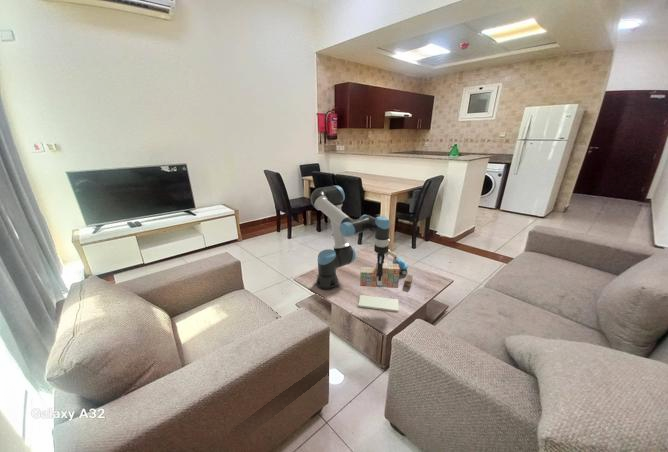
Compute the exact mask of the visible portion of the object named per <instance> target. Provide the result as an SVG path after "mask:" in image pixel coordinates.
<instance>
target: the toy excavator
mask: <svg viewBox="0 0 668 452" xmlns="http://www.w3.org/2000/svg"><path fill="white" fill-rule="evenodd" d="M389 255H390V256H392V257H393V260H392V262H391V263H393V264H398V265H399V269H400V271H399V273H401V275H402V276H406V274H408V269H409V264H408V263H407V262H405V260H404V258H402V257H398V256H397V254H396V253H395V252H393V251H391V249H389V248H388V252H387V253H385V258H386V257H388V256H389Z"/></svg>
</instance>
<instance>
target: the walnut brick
mask: <svg viewBox="0 0 668 452" xmlns="http://www.w3.org/2000/svg"><path fill="white" fill-rule="evenodd" d="M412 283H413V275H412V274H408V273H407V274H406V275H405V278H404V282H403V288H408V289H410V288H411V287H412Z"/></svg>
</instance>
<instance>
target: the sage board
mask: <svg viewBox="0 0 668 452" xmlns="http://www.w3.org/2000/svg"><path fill="white" fill-rule="evenodd" d="M358 301H359V302H358V304H357V307H360V308H367V309H375V310H383V311H390V312H399V299H398V298H396V299H395V298H388V297H379V296H372V295H371V296H370V295H364V294H360V295H359V299H358Z"/></svg>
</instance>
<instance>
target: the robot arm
mask: <svg viewBox="0 0 668 452" xmlns="http://www.w3.org/2000/svg"><path fill="white" fill-rule="evenodd" d="M345 199H346V196H345V192H344V189H343V187H341V186H340V185H330V186H323V187H318V188H316V189H314V191H312V193H311V195H310V204H311V205H312V206H313V207H314V209H315V210H317V211H321V212H322V214H324V215H325V216H326V217H328V218H329V220H330V227H331V230H332V234H333V235H332V236H333V240H334V245H333V249H332V248H331V249H330V248H329V249H324V250H322V251H320V252H319V253H318V255H317V268H318V269H317V271H318V272H317V273H318V274H317V277H316V282H315V283H316V285H315V286H316V287H317V288H318V289H320V290H323V291H332V290H334V289H336V288H338V286H339V282H340V281H339V278H338V275H337V269H338V268H341V267H344V266H347V265H350V264H352V263H354V261H355V260H356V257H357V255H356V250H355V248H354V247H353V246H352V245H351V244H350V243H349V242H348V237H352V236H354V235H358V234H360V233H365V232H368V231H370V232H373V233H374V252H375V253H376V254H377V257H376V258H377V262H376V263H378V274H376V275H377V285H382V268H383V263H385V262H384V261H385V258H386V256H385V253H387V252H388V249H389V244H390V243H389V242H391V240H390V228H391V221H390V218H389V217H388V216H383V215H380V216H376V217H373V216H371V215H369V214H363V215H361V216H360V217H359V218H357V219H353V218H351V217H350V216H349V215H347V214H346V213H345V212H343V211H342V207H343V205H344V204H343V202H344V201H345Z"/></svg>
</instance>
